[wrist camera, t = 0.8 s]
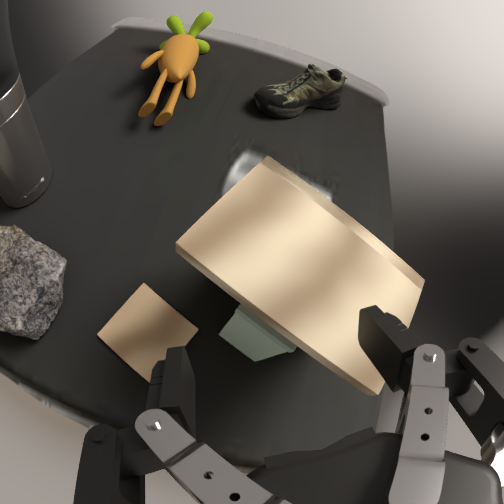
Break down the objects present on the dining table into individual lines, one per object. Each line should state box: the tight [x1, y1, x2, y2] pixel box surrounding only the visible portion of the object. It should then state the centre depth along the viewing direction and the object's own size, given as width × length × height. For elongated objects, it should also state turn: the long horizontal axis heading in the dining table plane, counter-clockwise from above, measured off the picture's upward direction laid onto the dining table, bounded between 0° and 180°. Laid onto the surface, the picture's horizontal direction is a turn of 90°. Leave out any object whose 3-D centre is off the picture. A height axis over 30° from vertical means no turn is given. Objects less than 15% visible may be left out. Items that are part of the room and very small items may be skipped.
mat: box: [97, 283, 199, 383], centre depth 30 cm, size 8×8×1 cm
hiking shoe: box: [254, 64, 347, 118], centre depth 49 cm, size 8×21×9 cm, turn 123°
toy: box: [138, 12, 213, 126], centre depth 46 cm, size 13×14×30 cm
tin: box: [218, 304, 297, 362], centre depth 27 cm, size 5×5×12 cm
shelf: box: [176, 156, 425, 395], centre depth 26 cm, size 15×10×17 cm, turn 53°
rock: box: [0, 225, 67, 340], centre depth 25 cm, size 13×6×15 cm
